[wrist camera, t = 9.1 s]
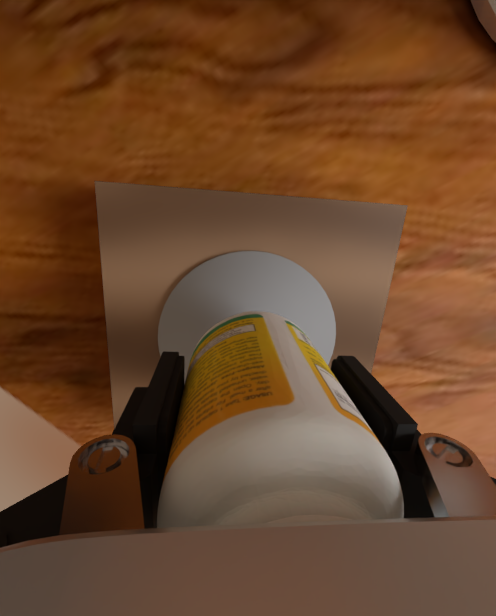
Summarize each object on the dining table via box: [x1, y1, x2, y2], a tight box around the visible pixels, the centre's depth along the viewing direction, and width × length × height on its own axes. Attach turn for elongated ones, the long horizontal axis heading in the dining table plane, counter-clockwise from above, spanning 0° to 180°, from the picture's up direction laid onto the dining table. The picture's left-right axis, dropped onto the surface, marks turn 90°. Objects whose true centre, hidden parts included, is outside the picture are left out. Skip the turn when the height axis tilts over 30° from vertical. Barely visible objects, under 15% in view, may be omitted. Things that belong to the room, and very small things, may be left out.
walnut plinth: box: [95, 181, 407, 429], centre depth 17 cm, size 14×14×4 cm
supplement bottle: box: [157, 311, 404, 528], centre depth 8 cm, size 5×5×10 cm
